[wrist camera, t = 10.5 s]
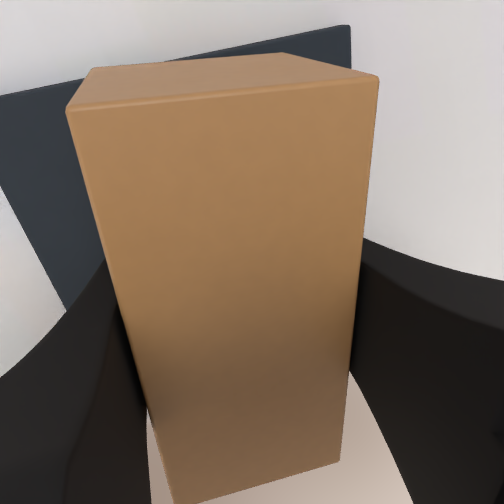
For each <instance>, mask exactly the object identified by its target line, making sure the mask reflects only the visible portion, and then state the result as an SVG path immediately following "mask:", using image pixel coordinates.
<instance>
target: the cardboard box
mask: <svg viewBox="0 0 504 504" xmlns="http://www.w3.org/2000/svg"><path fill="white" fill-rule="evenodd" d="M378 89H379V78H378V76H375V75H372V74H368V73H364V72H360V71H356V70H352V69H348V68H344V67H340V66H336V65H332V64H328V63H324V62H320V61H316V60H312V59H308V58H304V57H300V56H295V55H291V54H287V53H283V52H280V53H268V54H255V55H243V56H231V57H218V58H206V59H194V60H182V61H169V62H157V63H145V64H132V65H120V66H108V67H95V68H92V69H91V70H90V72H89V73H88V75H87V76H86V78H85V79H84V81H83V82H82V84H81V85H80V87H79V88H78V90H77V91H76V93H75V94H74V96H73V97H72V99H71V100H70V102H69V103H68V105H67V106H66V110H65V113H66V117H67V120H68V124H69V127H70V131H71V135H72V138H73V142H74V146H75V149H76V153H77V156H78V160H79V164H80V167H81V171H82V174H83V178H84V182H85V185H86V189H87V192H88V196H89V200H90V203H91V207H92V211H93V214H94V218H95V221H96V225H97V229H98V232H99V236H100V239H101V243H102V247H103V250H104V254H105V257H106V261H107V265H108V268H109V272H110V276H111V279H112V283H113V286H114V290H115V294H116V297H117V301H118V304H119V308H120V312H121V315H122V319H123V322H124V326H125V330H126V333H127V337H128V341H129V344H130V348H131V351H132V355H133V359H134V362H135V366H136V369H137V373H138V377H139V380H140V384H141V387H142V391H143V395H144V398H145V402H146V406H147V409H148V413H149V416H150V420H151V423H152V427H153V431H154V434H155V438H156V442H157V445H158V449H159V452H160V456H161V460H162V463H163V467H164V471H165V474H166V477H167V481H168V484H169V489H170V492H171V496H172V499H173V503H174V504H197V503H201V502H204V501H207V500H211V499H214V498H218V497H221V496H224V495H227V494H231V493H235V492H238V491H241V490H245V489H248V488H252V487H255V486H258V485H262V484H265V483H269V482H272V481H275V480H278V479H282V478H286V477H289V476H292V475H296V474H299V473H303V472H306V471H309V470H313V469H316V468H319V467H323V466H326V465H330V464H333V463H337V462H338V461H339V460H340V453H341V452H340V451H341V443H342V433H343V424H344V414H345V405H346V395H347V385H348V376H349V367H350V357H351V347H352V338H353V328H354V319H355V309H356V300H357V290H358V280H359V271H360V261H361V252H362V242H363V233H364V223H365V214H366V204H367V194H368V185H369V175H370V166H371V156H372V147H373V137H374V127H375V118H376V108H377V99H378Z"/></svg>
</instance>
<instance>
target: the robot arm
mask: <svg viewBox="0 0 504 504" xmlns="http://www.w3.org/2000/svg"><path fill="white" fill-rule="evenodd" d="M349 371H350V372H351V374H352V376H353V377H354V379H355V381H356V383H357V384H358V386H359V388H360V389H361V391H362V393H363V396H364V398H365V400H366V401H367V403H368V406H369V407H370V409H371V411H372V413H373V415H374V417H375V419H376V422H377V424H378V426H379V428H380V430H381V432H382V434H383V436H384V439H385V441H386V443H387V445H388V447H389V449H390V451H391V453H392V455H393V458H394V460H395V462H396V464H397V467H398V469H399V471H400V474H401V476H402V478H403V480H404V483H405V485H406V487H407V489H408V492H409V494H410V496H411V499H412V501H413V504H504V281H502V280H497V279H492V278H487V277H482V276H477V275H473V274H469V273H465V272H460V271H457V270H453V269H449V268H446V267H442V266H439V265H435V264H432V263H429V262H426V261H422V260H419V259H416V258H414V257H411V256H408V255H405V254H403V253H400V252H397V251H395V250H392V249H389V248H387V247H384V246H382V245H379V244H377V243H375V242H372V241H370V240H367V239H365V238H363V242H362V252H361V261H360V271H359V280H358V290H357V300H356V309H355V319H354V328H353V338H352V347H351V357H350V367H349ZM146 421H147V406H146V402H145V398H144V395H143V391H142V387H141V384H140V380H139V377H138V373H137V369H136V366H135V362H134V359H133V355H132V351H131V348H130V344H129V341H128V337H127V333H126V330H125V326H124V322H123V319H122V315H121V312H120V308H119V304H118V301H117V297H116V294H115V290H114V286H113V283H112V279H111V276H110V272H109V268H108V265H107V261H106V258H105V259H104V260H103V261H102V263H101V264H100V266H99V267H98V269H97V270H96V271H95V273H94V274H93V276H92V277H91V279H90V280H89V282H88V283H87V285H86V286H85V288H84V289H83V290H82V292H81V293H80V294H79V296H78V297H77V298H76V300H75V301H74V302H73V304H72V305H71V306H70V308H69V309H68V310H67V311H66V313H65V314H64V315H63V316H62V317H61V319H60V320H59V321H58V322H57V323H56V325H55V326H54V327H53V328H52V329H51V330H50V331H49V333H48V334H47V335H46V336H45V337H44V338H43V339H42V340H41V341H40V342H39V343H38V344H37V345H36V346H35V347H34V348H33V349H32V350H31V351H30V352H29V353H28V354H27V355H26V356H25V357H24V358H23V359H21V360H20V361H19V362H18V363H17V364H16V365H15V366H14V367H12V368H11V369H10V370H9V371H8V372H7V373H5V374H4V375H3V376H2V377H1V378H0V504H151V493H150V480H149V467H148V455H147V433H146Z"/></svg>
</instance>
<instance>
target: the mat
mask: <svg viewBox="0 0 504 504" xmlns="http://www.w3.org/2000/svg"><path fill="white" fill-rule="evenodd" d="M280 52H283V53H287V54H291V55H295V56H300V57H304V58H308V59H312V60H316V61H320V62H324V63H328V64H332V65H336V66H340V67H344V68H348V69H351V29H350V25H338V26H333V27H329V28H324V29H319V30H314V31H309V32H304V33H300V34H295V35H290V36H285V37H280V38H276V39H271V40H266V41H261V42H256V43H252V44H247V45H242V46H237V47H232V48H227V49H223V50H218V51H213V52H208V53H203V54H199V55H194V56H189V57H184V58H179V59H174V60H170V61H182V60H194V59H206V58H218V57H231V56H243V55H255V54H268V53H280ZM165 62H169V61H165ZM84 79H85V78H83V79H78V80H73V81H68V82H64V83H59V84H54V85H49V86H44V87H40V88H35V89H30V90H25V91H20V92H15V93H11V94H6V95H1V96H0V186H1V188H2V190H3V192H4V194H5V196H6V198H7V200H8V201H9V203H10V205H11V207H12V209H13V211H14V213H15V215H16V216H17V218H18V220H19V222H20V224H21V226H22V228H23V230H24V232H25V233H26V235H27V237H28V239H29V241H30V243H31V245H32V247H33V248H34V250H35V252H36V254H37V256H38V258H39V260H40V262H41V264H42V265H43V267H44V269H45V271H46V273H47V275H48V277H49V279H50V280H51V282H52V284H53V286H54V288H55V290H56V292H57V294H58V295H59V297H60V299H61V301H62V303H63V305H64V307H65V309H66V311H67V310H68V309H69V308H70V306H71V305H72V304H73V302H74V301H75V300H76V298H77V297H78V296H79V294H80V293H81V292H82V290H83V289H84V288H85V286H86V285H87V283H88V282H89V280H90V279H91V277H92V276H93V274H94V273H95V271H96V270H97V269H98V267H99V266H100V264H101V263H102V261H103V260H104V259H105V258H106V257H105V254H104V250H103V247H102V243H101V239H100V236H99V232H98V229H97V225H96V221H95V218H94V214H93V211H92V207H91V203H90V200H89V196H88V192H87V189H86V185H85V182H84V178H83V174H82V171H81V167H80V164H79V160H78V156H77V153H76V149H75V146H74V142H73V138H72V135H71V131H70V127H69V124H68V120H67V117H66V113H65V110H66V106H67V105H68V103H69V102H70V100H71V99H72V97H73V96H74V94H75V93H76V91H77V90H78V88H79V87H80V85H81V84H82V82H83V81H84Z"/></svg>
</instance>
